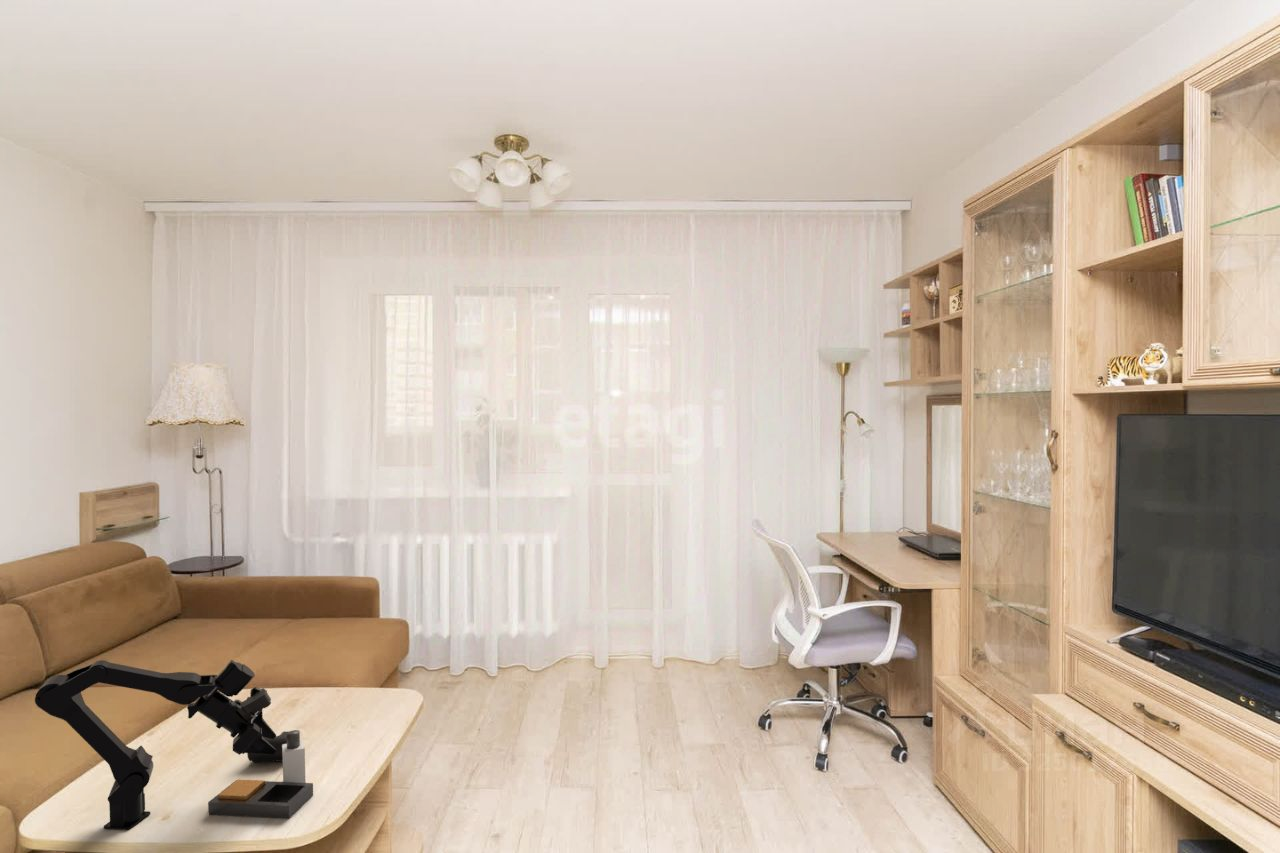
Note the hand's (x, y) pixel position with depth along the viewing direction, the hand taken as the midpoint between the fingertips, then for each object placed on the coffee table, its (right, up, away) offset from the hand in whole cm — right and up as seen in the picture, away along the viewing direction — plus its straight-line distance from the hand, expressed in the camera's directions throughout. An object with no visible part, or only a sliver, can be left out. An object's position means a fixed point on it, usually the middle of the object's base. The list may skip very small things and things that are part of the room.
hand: (275, 744), depth 177 cm
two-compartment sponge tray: (+1, -11, -8) cm, 13 cm away
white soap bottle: (+4, -11, +2) cm, 12 cm away
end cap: (-8, -11, +14) cm, 20 cm away
